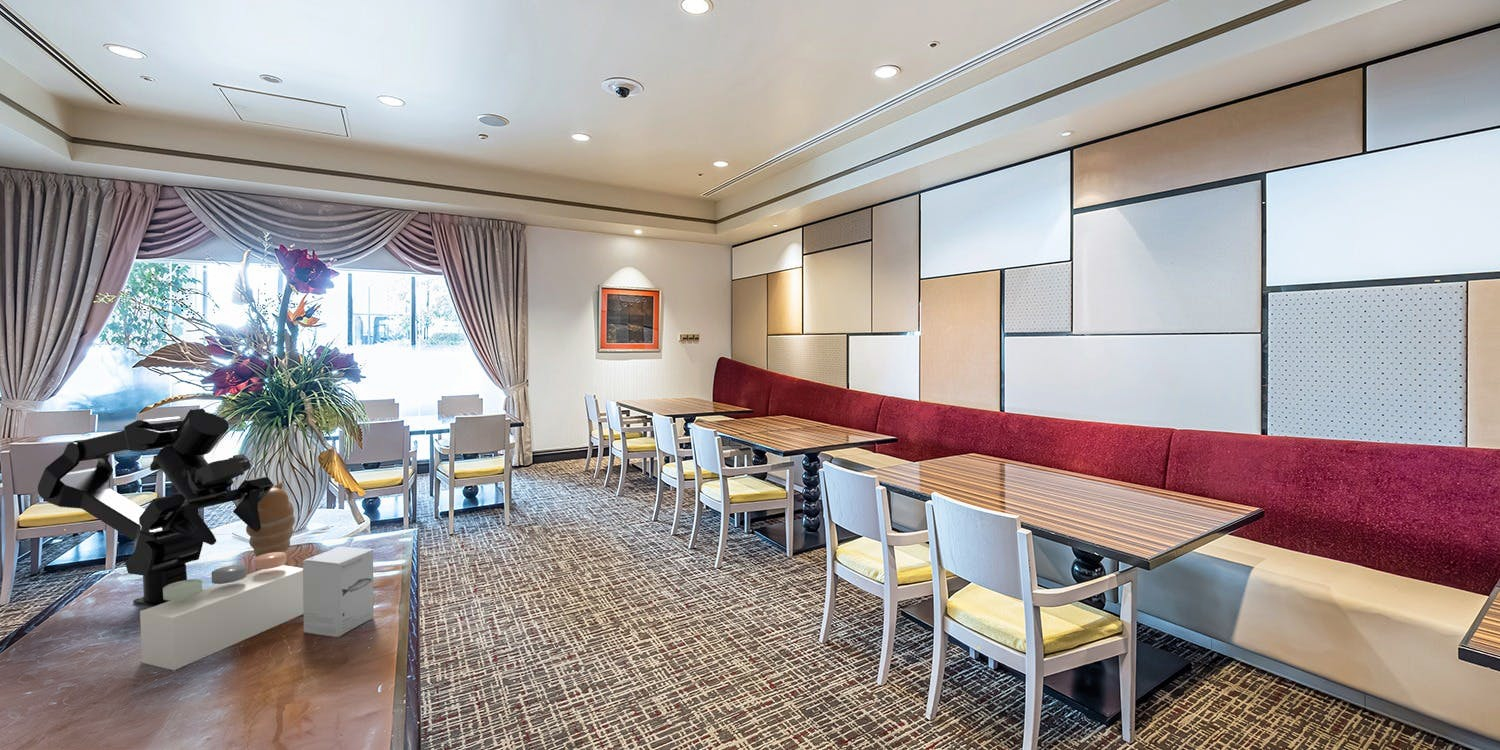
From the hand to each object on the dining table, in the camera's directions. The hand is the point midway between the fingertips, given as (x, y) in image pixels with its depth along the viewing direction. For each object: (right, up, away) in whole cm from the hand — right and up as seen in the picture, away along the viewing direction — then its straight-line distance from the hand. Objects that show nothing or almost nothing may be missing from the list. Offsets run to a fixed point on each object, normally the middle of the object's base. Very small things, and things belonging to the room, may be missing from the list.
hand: (237, 536), depth 106 cm
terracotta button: (+7, -5, -2) cm, 9 cm away
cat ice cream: (-10, -13, +20) cm, 26 cm away
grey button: (+5, -5, -8) cm, 11 cm away
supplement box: (+21, -15, -4) cm, 26 cm away
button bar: (+6, -14, -8) cm, 17 cm away
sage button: (+4, -5, -14) cm, 15 cm away
